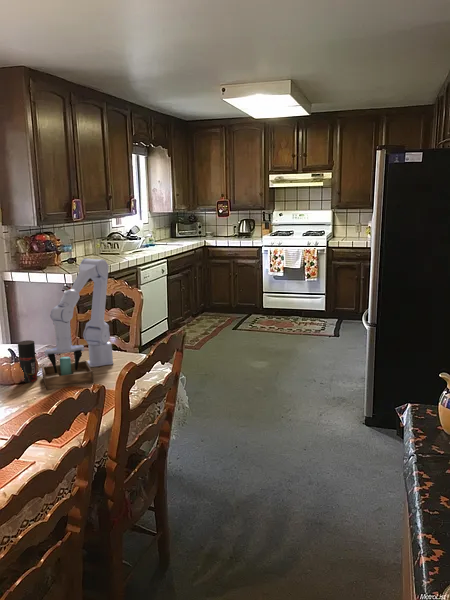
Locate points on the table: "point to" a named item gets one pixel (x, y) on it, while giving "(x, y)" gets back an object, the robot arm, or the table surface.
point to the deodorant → (27, 360)
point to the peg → (65, 366)
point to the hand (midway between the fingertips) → (66, 370)
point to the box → (67, 376)
